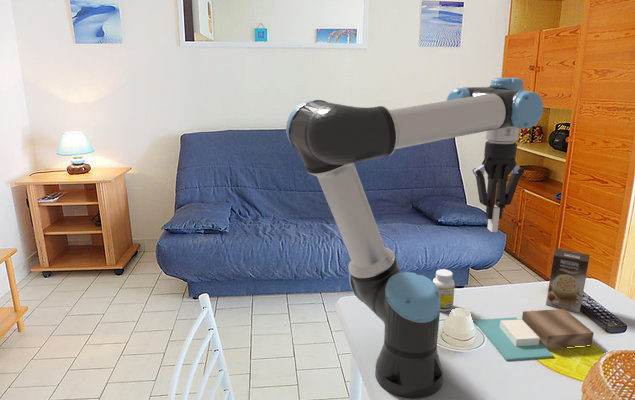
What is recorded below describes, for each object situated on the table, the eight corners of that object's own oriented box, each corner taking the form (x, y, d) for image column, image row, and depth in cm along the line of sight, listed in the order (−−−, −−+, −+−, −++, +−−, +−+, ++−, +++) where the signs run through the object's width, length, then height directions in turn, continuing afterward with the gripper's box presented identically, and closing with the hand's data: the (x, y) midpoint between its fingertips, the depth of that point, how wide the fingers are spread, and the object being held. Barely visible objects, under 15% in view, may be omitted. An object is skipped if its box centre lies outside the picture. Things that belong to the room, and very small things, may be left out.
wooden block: (546, 350, 118) (548, 335, 117) (521, 324, 129) (522, 311, 128) (591, 346, 119) (593, 332, 118) (562, 321, 131) (564, 308, 129)
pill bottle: (435, 299, 143) (437, 266, 140) (455, 305, 140) (458, 270, 137) (428, 308, 138) (430, 274, 135) (448, 314, 135) (451, 279, 132)
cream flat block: (515, 346, 119) (516, 339, 118) (499, 327, 127) (500, 320, 127) (538, 345, 119) (539, 338, 119) (521, 325, 128) (521, 319, 127)
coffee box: (544, 305, 140) (552, 254, 135) (547, 296, 145) (554, 247, 140) (580, 313, 135) (588, 261, 130) (581, 304, 140) (590, 253, 135)
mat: (506, 360, 114) (506, 358, 114) (474, 321, 131) (474, 319, 131) (553, 357, 115) (553, 355, 115) (515, 318, 132) (515, 317, 132)
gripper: (482, 144, 114) (474, 236, 121) (534, 143, 115) (523, 234, 122) (470, 139, 121) (462, 226, 128) (518, 138, 122) (508, 224, 129)
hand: (492, 230), depth 125 cm, fingers closed
